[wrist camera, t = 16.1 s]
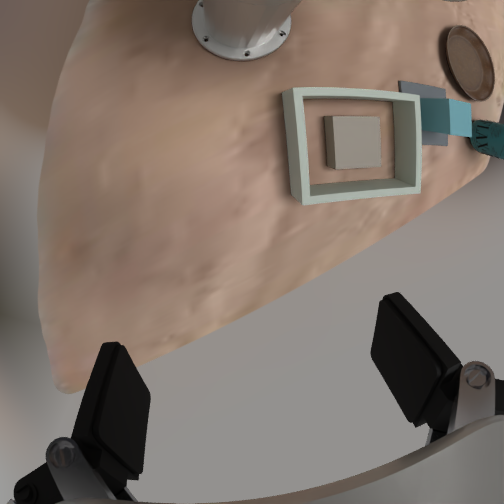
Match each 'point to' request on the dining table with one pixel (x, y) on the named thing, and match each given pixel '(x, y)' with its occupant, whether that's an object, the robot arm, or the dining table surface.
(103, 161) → the dining table surface
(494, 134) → the beverage bottle
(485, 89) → the saucer
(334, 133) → the frame
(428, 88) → the mat
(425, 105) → the block
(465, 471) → the robot arm
